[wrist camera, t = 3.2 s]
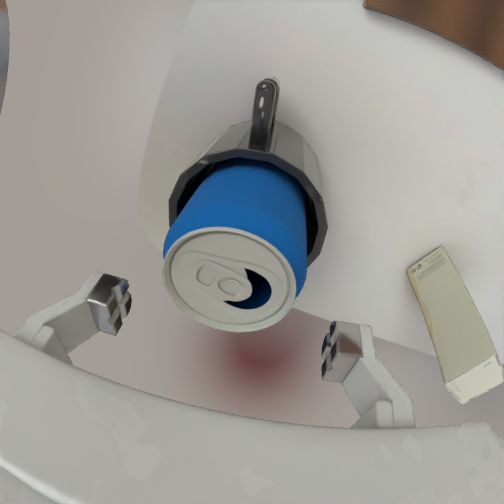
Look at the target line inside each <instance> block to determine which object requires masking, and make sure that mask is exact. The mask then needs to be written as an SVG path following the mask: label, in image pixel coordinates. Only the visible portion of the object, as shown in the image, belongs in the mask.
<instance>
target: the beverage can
mask: <svg viewBox="0 0 504 504" xmlns="http://www.w3.org/2000/svg"><path fill="white" fill-rule="evenodd" d="M163 258H164V261H163V266H162V277H163V282H164V285H165V288H166V290H167V292H168V294H169V296H170V297H171V299H172V300H173V301H174V303H175V304H176V305H177V306H178V307H179V308H180V309H181V310H182V311H183V312H185V313H186V314H187V315H189V316H190V317H192V318H193V319H195V320H196V321H198V322H200V323H202V324H204V325H207V326H209V327H212V328H216V329H219V330H224V331H231V332H251V331H257V330H261V329H264V328H267V327H270V326H272V325H273V324H275V323H277V322H278V321H279V320H281V319H282V318H283V317H285V316H286V315H287V313H288V312H289V310H290V309H291V307H292V305H293V303H294V300H295V299H296V297H297V296H298V295H299V293H300V291H301V289H302V287H303V285H304V282H305V279H306V273H307V241H306V205H305V189H304V188H303V186H302V185H301V184H300V182H299V181H298V180H297V178H295V177H293V176H292V175H290V174H289V173H287V172H285V171H284V170H282V169H280V168H279V167H277V166H275V165H274V164H272V163H270V162H266V161H260V160H254V159H247V158H241V157H237V158H232V159H228V160H224V161H220V162H216V163H215V165H214V166H213V167H212V169H211V170H210V172H209V173H208V174H207V176H206V177H205V179H204V180H203V181H202V183H201V184H200V186H199V187H198V188H197V190H196V191H195V193H194V194H193V195H192V197H191V198H190V200H189V201H188V203H187V204H186V206H185V207H184V208H183V210H182V211H181V213H180V214H179V216H178V217H177V219H176V220H175V222H174V223H173V225H172V226H171V228H170V229H169V231H168V234H167V236H166V239H165V243H164V249H163Z"/></svg>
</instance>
